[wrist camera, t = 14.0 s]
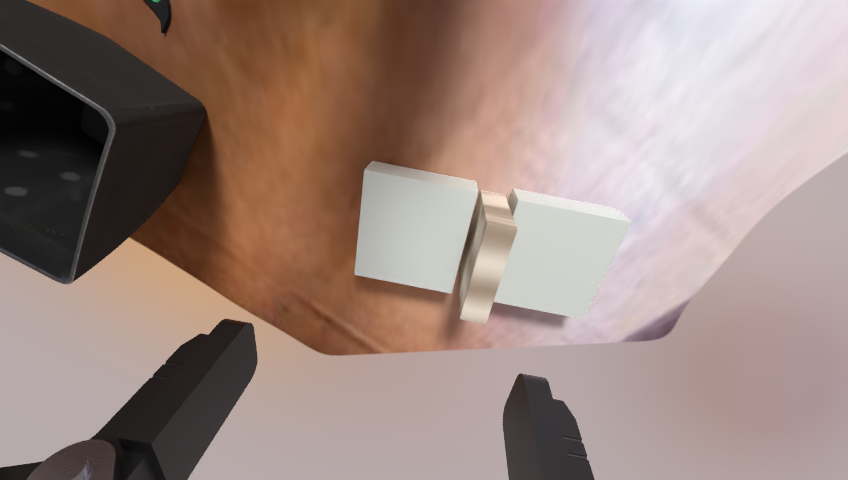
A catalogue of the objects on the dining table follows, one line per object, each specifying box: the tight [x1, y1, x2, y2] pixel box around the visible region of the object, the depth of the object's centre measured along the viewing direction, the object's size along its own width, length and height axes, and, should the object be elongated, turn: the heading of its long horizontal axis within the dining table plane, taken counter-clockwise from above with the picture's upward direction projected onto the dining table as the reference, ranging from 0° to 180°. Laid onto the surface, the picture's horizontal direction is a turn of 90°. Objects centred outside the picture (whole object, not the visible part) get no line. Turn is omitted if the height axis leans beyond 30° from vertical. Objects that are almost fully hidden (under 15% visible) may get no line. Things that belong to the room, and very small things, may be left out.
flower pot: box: [0, 0, 206, 284], centre depth 34 cm, size 19×19×17 cm
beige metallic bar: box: [459, 190, 518, 324], centre depth 40 cm, size 12×3×10 cm, turn 170°
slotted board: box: [354, 161, 632, 319], centre depth 43 cm, size 14×30×4 cm, turn 80°
